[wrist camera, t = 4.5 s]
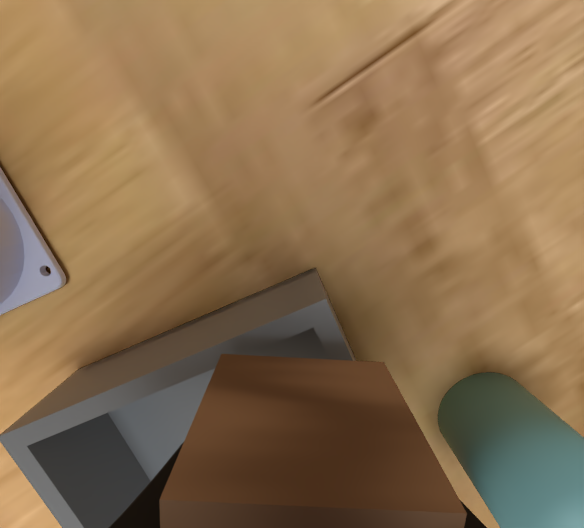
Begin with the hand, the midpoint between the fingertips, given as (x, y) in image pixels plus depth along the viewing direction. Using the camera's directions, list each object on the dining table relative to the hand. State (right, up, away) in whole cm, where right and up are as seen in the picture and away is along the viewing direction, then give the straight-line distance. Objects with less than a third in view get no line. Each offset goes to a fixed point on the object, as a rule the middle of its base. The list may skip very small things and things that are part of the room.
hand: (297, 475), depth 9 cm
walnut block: (0, +1, +2) cm, 2 cm away
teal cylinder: (+10, -2, +9) cm, 14 cm away
